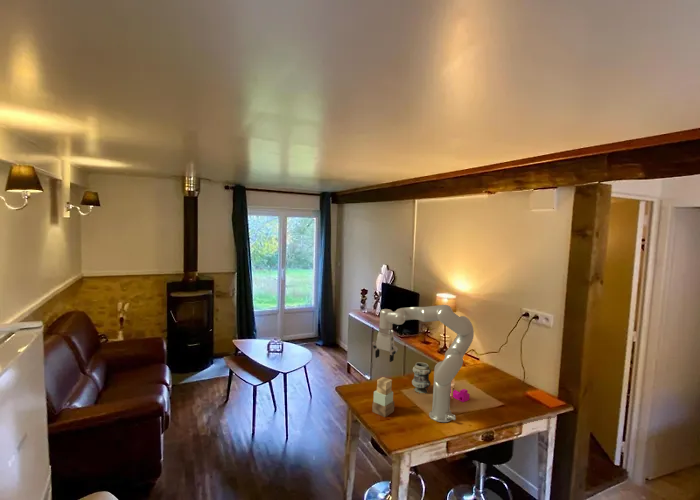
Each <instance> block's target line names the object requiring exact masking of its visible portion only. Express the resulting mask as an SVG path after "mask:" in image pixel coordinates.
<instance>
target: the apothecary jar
mask: <svg viewBox="0 0 700 500" xmlns="http://www.w3.org/2000/svg"><path fill="white" fill-rule="evenodd" d="M412 372H413V373H414V375H413V378H412V380H411V384H412V385H413V387H415V388H413V391H414V390H415V391H416V392H419V393H418V394H420V393H425V394H427V393H428V392H427V390H428V388H430V386H431V384H432V383H431V381H430V378H429V377H430V374H431V372H432V370H431V368H430V367H429V364H428V363H426V362H416V363H415V365H414V366H413V368H412ZM415 391H414V392H415ZM416 392H415V393H416Z"/></svg>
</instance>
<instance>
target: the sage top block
mask: <svg viewBox="0 0 700 500" xmlns="http://www.w3.org/2000/svg"><path fill="white" fill-rule="evenodd" d="M393 401H394V391H393V390H391V392H390V393H388V394H387V395H384V394H381V393H378V392H377V389H376V390H374V391H373V401H372V403H373V402H375V403H378V404H380V405H382V406H386V405H388V404H390V403H392V402H393Z"/></svg>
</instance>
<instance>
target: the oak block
mask: <svg viewBox="0 0 700 500" xmlns="http://www.w3.org/2000/svg"><path fill="white" fill-rule="evenodd" d="M376 382H377V383H376V390H377V392H378V393H381V394H384V395H387V394H388V393H390V392H391V391H392V382H393V379H390V378H387V377H385V376H383V377H380V378H378V379H377V380H376Z"/></svg>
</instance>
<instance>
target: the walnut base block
mask: <svg viewBox="0 0 700 500" xmlns="http://www.w3.org/2000/svg"><path fill="white" fill-rule="evenodd" d="M371 408H372V410H371V412H372V413H374V414H377V415H379V416H381V417H383V418H386V417H388V416H390V415H391V414H393V413H394V412H395V401H394V400H393V402H392V403H390V404H388V405H386V406H382V405H380V404H378V403H375V402H373V401H372V407H371Z"/></svg>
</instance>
